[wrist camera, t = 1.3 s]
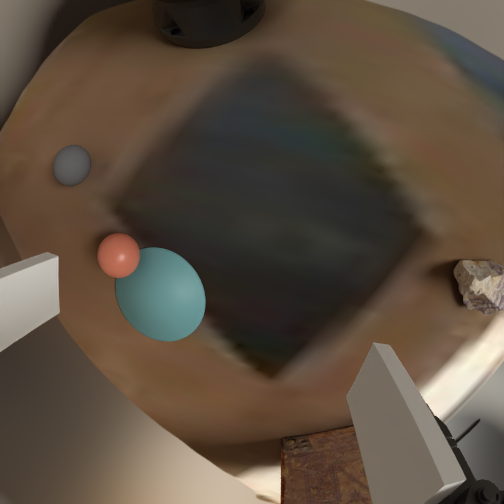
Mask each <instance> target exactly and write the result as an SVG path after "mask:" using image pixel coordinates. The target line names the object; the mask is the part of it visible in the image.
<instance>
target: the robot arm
mask: <svg viewBox="0 0 504 504" xmlns="http://www.w3.org/2000/svg"><path fill="white" fill-rule="evenodd" d="M152 7H153V16H154V21H155V24H156V26H157V28H158V29H159V31H160V32H161V33H162V34H163V36H164V37H165V38H166V39H167V40H169V41H170V42H172V43H174V44H176V45H179V46H183V47H188V48H207V47H213V46H218V45H222V44H225V43H228V42H230V41H233V40H235V39H237V38H239V37H241V36H243V35H244V34H246V33H247V32H249V31H250V30H251V29H252V28H254V27H255V26H256V25H257V23H258V22H259V21H260V19H261V18H262V16H263V14H264V11H265V0H152ZM58 313H60V310H59V288H58V256H56V255H54V254H51V253H49V252H46V253H43V254H40V255H37V256H34V257H31V258H28V259H25V260H23V261H20V262H17V263H14V264H11V265H9V266H6V267H3V268H1V269H0V352H1V351H2V350H4V349H5V348H7V347H8V346H9V345H11V344H13V343H14V342H15V341H17V340H18V339H20V338H21V337H23V336H24V335H26V334H27V333H29V332H30V331H32V330H34V329H35V328H36V327H38V326H40V325H41V324H43V323H44V322H46V321H47V320H49V319H50V318H52V317H54V316H55V315H57V314H58ZM346 399H347V402H348V406H349V410H350V413H351V417H352V421H353V424H354V428H355V432H356V436H357V440H358V444H359V448H360V452H361V456H362V460H363V464H364V468H365V473H366V477H367V481H368V486H369V490H370V495H371V499H372V504H504V491H499V489H498V488H497V487H496V486H495V484H494V483H492V482H490V481H488V480H483V479H482V480H478V481H476V479H475V478H474V476H473V474H472V472H471V470H470V468H469V466H468V464H467V462H466V461H465V458H464V456H463V455H462V453H461V451H460V449H459V448H457V444H456V442H455V440H454V439H452V435H451V433H450V431H449V430H448V428H447V426H446V425H445V424H444V423H443V422H442V421H441V420H440V419H439V418H438V417H437V416H433V415H432V413H431V411H430V410H429V408H428V406H427V404H426V403H425V401H424V399H423V398H422V396H421V394H420V393H419V391H418V389H417V388H416V386H415V384H414V383H413V381H412V379H411V378H410V376H409V375H408V373H407V371H406V370H405V368H404V367H403V365H402V363H401V362H400V360H399V359H398V357H397V356H396V354H395V352H394V351H393V349H392V348H391V346H390V345H386V344H380V343H374V342H373V344H372V346H371V348H370V350H369V353H368V355H367V357H366V359H365V361H364V363H363V365H362V367H361V369H360V371H359V373H358V375H357V377H356V379H355V381H354V383H353V385H352V387H351V389H350V391H349V392H348V394H347V396H346Z"/></svg>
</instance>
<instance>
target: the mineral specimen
mask: <svg viewBox="0 0 504 504" xmlns="http://www.w3.org/2000/svg"><path fill="white" fill-rule="evenodd" d="M454 276H455V278H456V279H457V281H458V286H459V291H460V293H461V294H462V295H463V302H464V305H465V306H466V308H467V310H472V309H477V310H478V311H481V312H483V314H485V315H486V314H492V313H500V312H501V310H503V309H504V266H502V265H500V264H497V263H496V262H494V261H488V260H486V261H479V260H477V261H471V260H460V261H459V263H458V264H457V265H456V267H455V269H454Z"/></svg>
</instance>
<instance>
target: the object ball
mask: <svg viewBox="0 0 504 504" xmlns="http://www.w3.org/2000/svg"><path fill="white" fill-rule="evenodd" d="M97 258H98V263H99V265H100V267H101V269H102V270H103V271H104V272H105V273H106V274H107V275H109V276H111V277H114V278H124V277H127V276H129V275H130V274H132V273H133V272H134V271H135V270H136V268H137V266H138V264H139V261H140V250H139V247H138V245H137V243H136V241H135V240H134V239H133V238H132V237H130V236H129V235H127V234H124V233H113V234H111V235H109V236H107V237H106V238H105V239H104V240H103V241H102V242H101V244H100V246H99V248H98V253H97Z"/></svg>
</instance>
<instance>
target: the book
mask: <svg viewBox="0 0 504 504" xmlns="http://www.w3.org/2000/svg"><path fill="white" fill-rule="evenodd" d="M427 406H428V405H427ZM428 408H429V406H428ZM429 410H430V411H431V409H430V408H429ZM431 413H432V415H433V416H434V414H433V412H432V411H431ZM281 504H372V499H371V495H370V490H369V486H368V481H367V477H366V473H365V468H364V464H363V460H362V456H361V452H360V448H359V444H358V440H357V436H356V432H355V428H354V425H351V426H347V427H342V428H338V429H333V430H328V431H322V432H317V433H311V434H305V435H298V436H291V437H283V438H282V439H281Z"/></svg>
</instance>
